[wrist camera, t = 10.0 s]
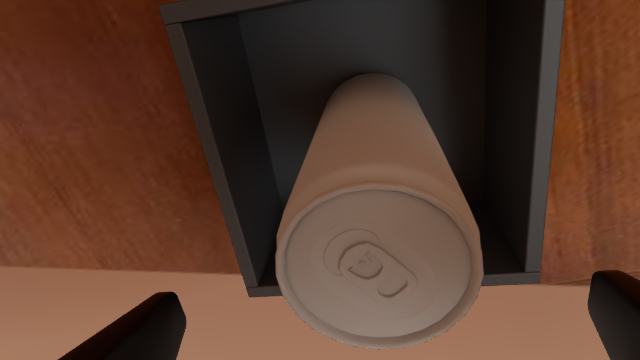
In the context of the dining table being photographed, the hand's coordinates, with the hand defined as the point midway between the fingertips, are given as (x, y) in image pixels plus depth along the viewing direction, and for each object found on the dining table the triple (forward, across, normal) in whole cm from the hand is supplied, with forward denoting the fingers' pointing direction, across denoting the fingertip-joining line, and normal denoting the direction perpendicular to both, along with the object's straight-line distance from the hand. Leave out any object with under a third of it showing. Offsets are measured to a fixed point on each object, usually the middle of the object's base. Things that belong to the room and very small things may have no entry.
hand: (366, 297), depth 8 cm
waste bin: (+13, 0, -1) cm, 13 cm away
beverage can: (+12, 0, 0) cm, 13 cm away
